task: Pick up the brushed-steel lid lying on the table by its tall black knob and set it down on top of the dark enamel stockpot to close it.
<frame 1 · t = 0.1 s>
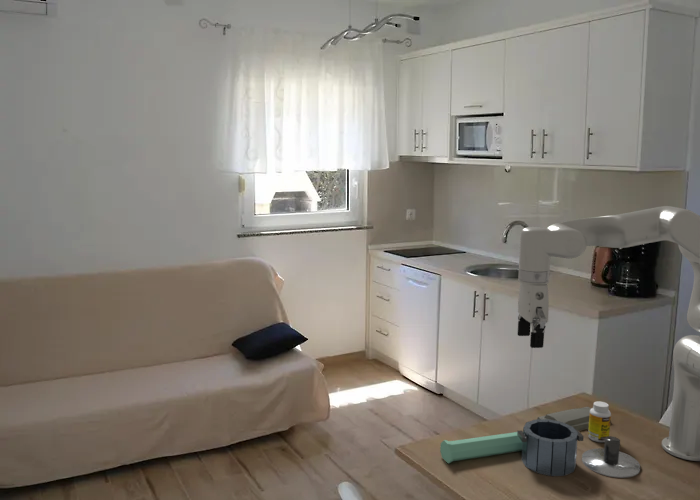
hand: (529, 341, 167), 31 cm above the table, tool pointing down, fingers open, 9 cm apart
lid: (610, 464, 168), on the table
soap mold: (573, 424, 192), on the table
mint green octagonal rod: (487, 455, 172), on the table
pot: (548, 462, 168), on the table
supplement bottle: (598, 439, 182), on the table
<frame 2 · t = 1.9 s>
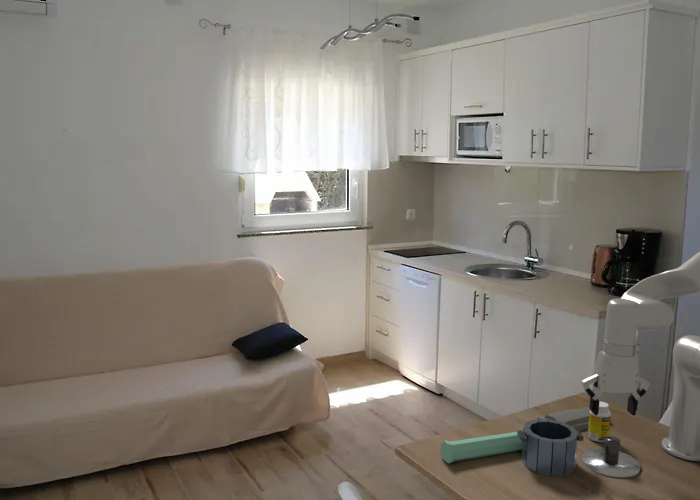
hand: (612, 413, 165), 14 cm above the table, tool pointing down, fingers open, 9 cm apart
nothing on the table moved.
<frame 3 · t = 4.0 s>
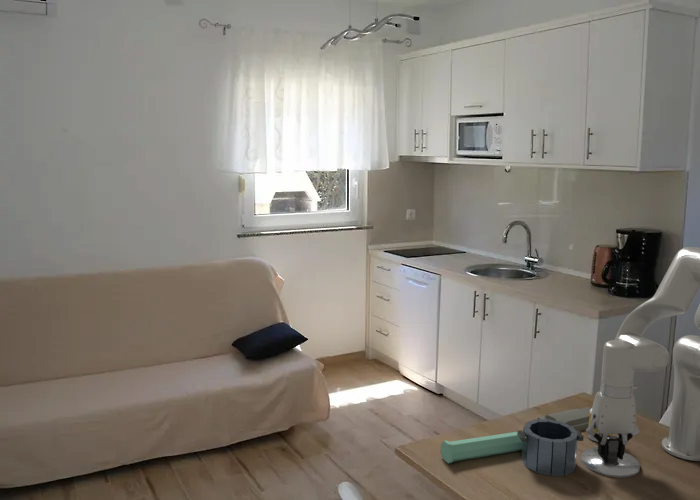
hand: (610, 456, 167), 2 cm above the table, tool pointing down, fingers closed on lid, 3 cm apart
lid: (609, 463, 168), on the table, touching gripper
everything else where it was.
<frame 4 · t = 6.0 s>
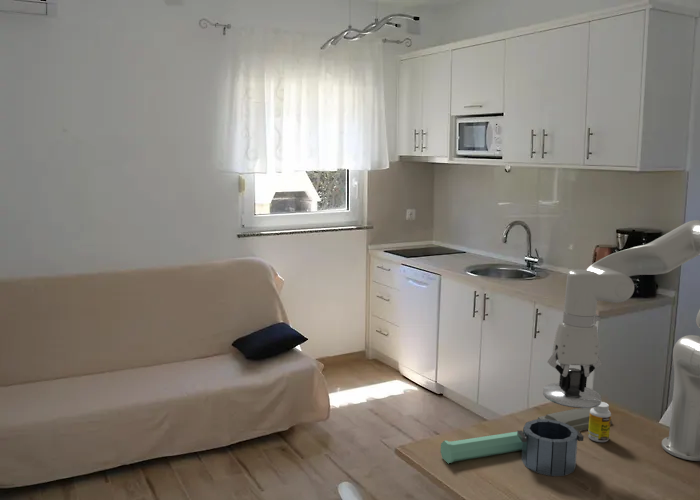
hand: (572, 389, 164), 20 cm above the table, tool pointing down, fingers closed on lid, 3 cm apart
lid: (571, 396, 164), point 18 cm above the table, touching gripper
everything else where it was.
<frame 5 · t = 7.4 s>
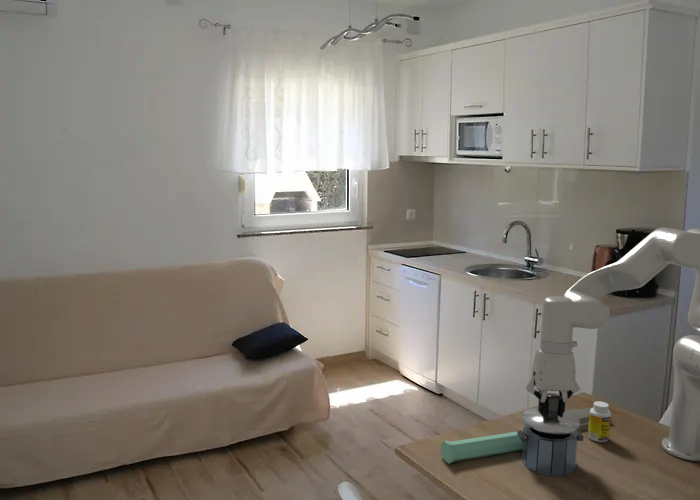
hand: (551, 414, 165), 13 cm above the table, tool pointing down, fingers closed on lid, 3 cm apart
lid: (550, 421, 166), point 11 cm above the table, touching gripper
everything else where it was.
when the fingers open (12 cm above the table, at t = 8.4 s): lid stays where it is, resting on pot.
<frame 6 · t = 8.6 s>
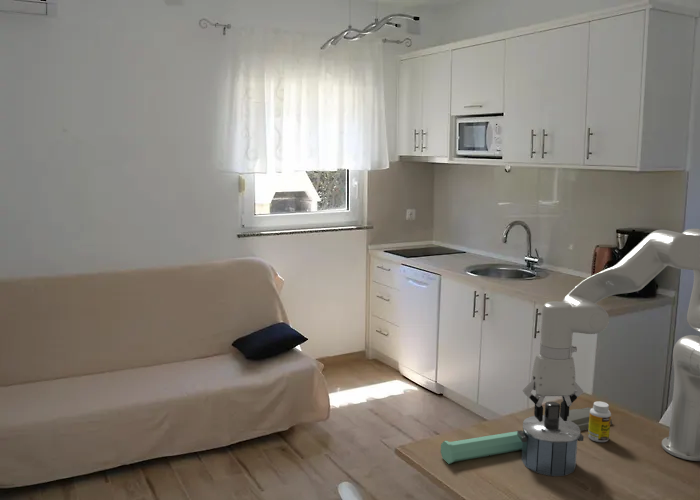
hand: (551, 418, 166), 12 cm above the table, tool pointing down, fingers open, 5 cm apart
lid: (551, 430, 166), point 9 cm above the table, touching pot
everything else where it was.
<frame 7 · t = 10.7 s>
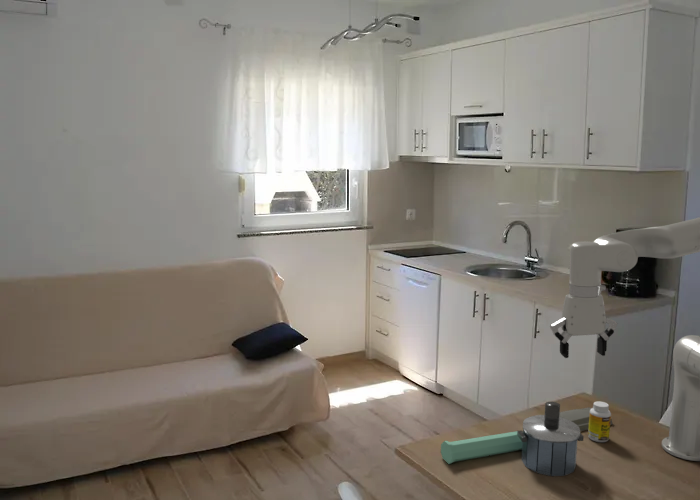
hand: (582, 355, 167), 28 cm above the table, tool pointing down, fingers open, 9 cm apart
nothing on the table moved.
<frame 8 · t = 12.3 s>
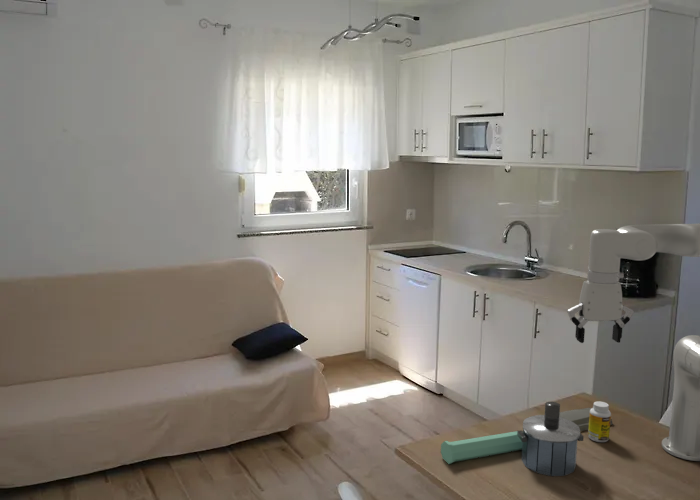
hand: (598, 341, 170), 30 cm above the table, tool pointing down, fingers open, 9 cm apart
nothing on the table moved.
at the end: lid 0.1 cm off-centre on the pot, point 9.0 cm above the pot's base; lid tilted 0°; the gripper is holding nothing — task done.
